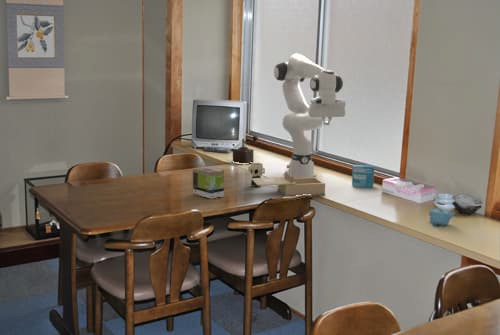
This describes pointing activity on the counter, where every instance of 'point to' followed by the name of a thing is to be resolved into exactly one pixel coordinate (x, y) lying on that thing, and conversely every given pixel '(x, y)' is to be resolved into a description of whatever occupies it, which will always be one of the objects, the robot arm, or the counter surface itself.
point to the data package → (363, 176)
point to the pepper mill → (244, 152)
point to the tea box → (208, 182)
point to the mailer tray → (303, 187)
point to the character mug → (256, 171)
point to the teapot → (440, 217)
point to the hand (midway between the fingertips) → (326, 125)
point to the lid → (275, 180)
